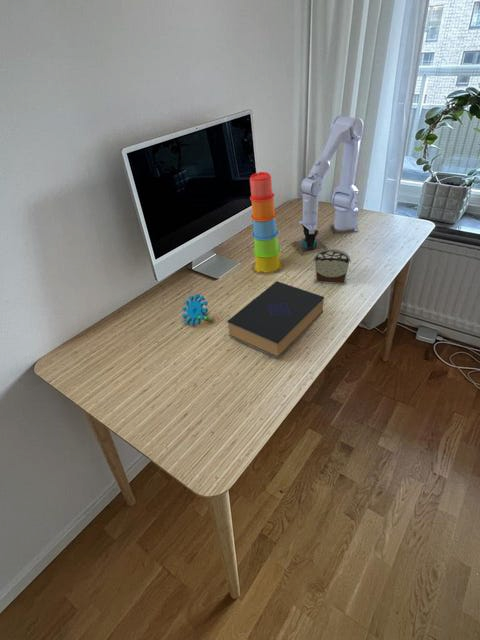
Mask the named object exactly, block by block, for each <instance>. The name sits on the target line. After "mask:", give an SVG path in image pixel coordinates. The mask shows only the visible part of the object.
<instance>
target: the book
mask: <svg viewBox="0 0 480 640" xmlns="http://www.w3.org/2000/svg"><path fill="white" fill-rule="evenodd" d="M324 300H325V296H322V295H320V294H317V293H314V292H312V291H311V292H310V291H308V290H305V289H302V288H299V287H295V286H292V285H290V284H287V283H284V282H280V281H278V280H276V281H274V283H272V284H271V285H270V286H268V287H267V288H266V289H265V290H264V291H262V292H261V293H260V294H259V295H258V296H256V297H255V298H254V299H253V300H251V301H250V302H249V303H247V305H245V306H244V307H243V308H242V309H240V310H239V311H238V312H237V313H235V314H234V315H233V316H232V317H231V318H229V319H228V320H227V321H226V323H227V325H228V332H229V333H228V334H229V335H228V337H230V338H232V339H234V340H236V341H238V342H240V343H242V344H244V345H246V346H249V347H250V348H253V349H256V350H257V351H260V352H261V353H264V354H266V355H268V356H270V357H273V358H275V359H277V360H279V359H280V358H281V357H282V356H283V355H284V354H285V353H286V352H287V351H288V349H290V347H292V346H293V344H295V342H296V341H297V340H298V339H299V338H300V337H301V336H302V335H304V333H305V332H306V331H307V330H308V329H309V328H310V327H311V326H312V325H313V324H314V323H315V322H316V321H317V320H318V319H319V318H320V317H321V316H322V315H323V314H324Z"/></svg>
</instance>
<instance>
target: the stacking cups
mask: <svg viewBox="0 0 480 640" xmlns="http://www.w3.org/2000/svg"><path fill="white" fill-rule="evenodd" d="M249 186H250V196H249V199H250V202H251V212H252V214H251V216H250V217H251V220H252V227H253V231H252V235H251V236H252V237H253V243H254V248H253V251H252V253H253V254H254V256H255V258H254V259H255V264H254V265H253V268H254V270H255V272H257V273H259V274H261V275H271V274H275V273H276V272H275V271H276V270H280V269H281V268H282V263H281V261H280V252H281V247H280V246H279V240H278V238H279V237H278V235H279V230H278V229H277V219H276V217H277V212H276V210H275V193H274V192H273V182H272V175H271V174H270V172H267V171H258V172H254V173H252V174H251V175H250V178H249Z"/></svg>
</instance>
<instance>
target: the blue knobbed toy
mask: <svg viewBox="0 0 480 640" xmlns="http://www.w3.org/2000/svg"><path fill="white" fill-rule="evenodd" d="M188 299H189V300H187V299H186V300H185V301H184V302H183V303H184V305H185V306H183V307H182V308H181V311H182V312H186V314H185V313H182V315H181V316H182V318H183V319H184V323H185V324H187V325H191V326H193V327H194V326H195V324H196V325H200V324H201V320H202V321H204V322H213V319H212V318H210V317H209V316H208V315H207V313H208V311H209V309H208V308H206V307H207V306H208V305H209V304H208V303H209V302H208V301H207V300H205V299H206V298H205V296H204V295H200V294H197V293H195V295H190V296H189V297H188ZM202 301H203V302H202ZM203 306H206V307H203ZM187 318H188V319H187Z"/></svg>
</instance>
